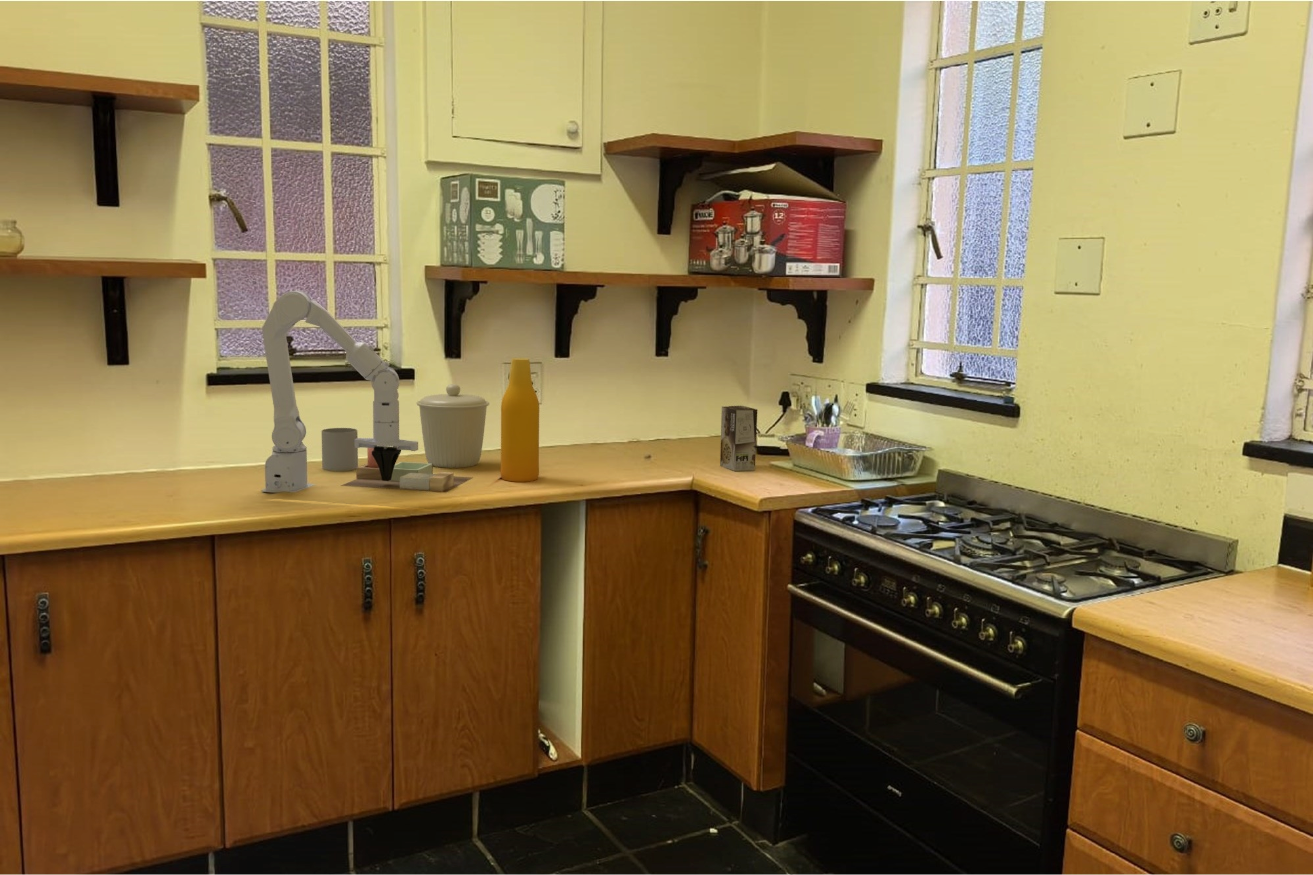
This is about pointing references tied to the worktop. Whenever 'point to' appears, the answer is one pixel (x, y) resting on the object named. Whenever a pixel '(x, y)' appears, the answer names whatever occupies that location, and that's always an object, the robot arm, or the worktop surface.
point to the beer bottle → (520, 426)
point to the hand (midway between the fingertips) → (386, 480)
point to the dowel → (371, 459)
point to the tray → (410, 469)
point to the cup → (339, 449)
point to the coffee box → (738, 438)
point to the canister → (453, 428)
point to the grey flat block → (416, 481)
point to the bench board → (374, 480)
